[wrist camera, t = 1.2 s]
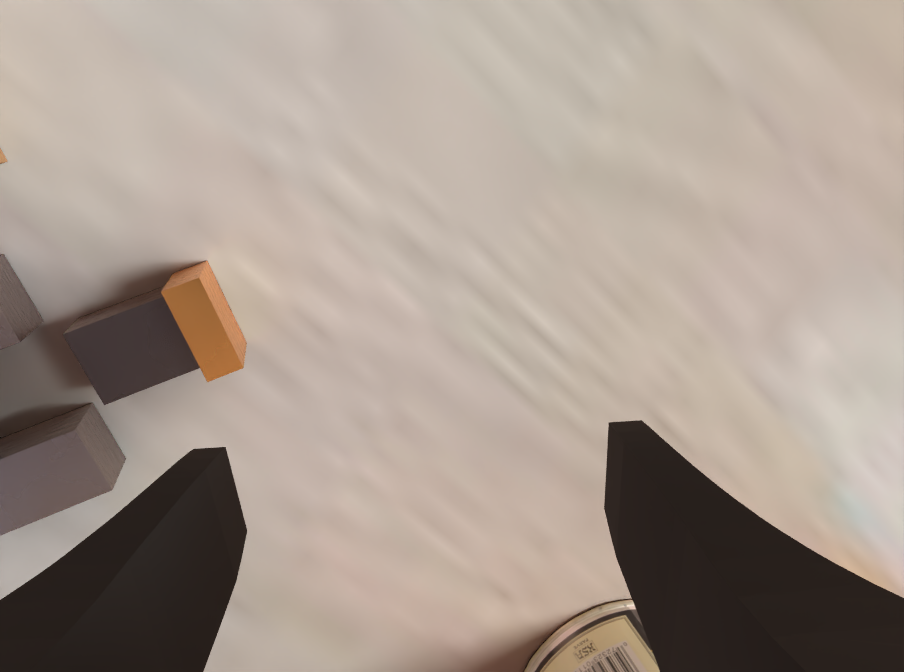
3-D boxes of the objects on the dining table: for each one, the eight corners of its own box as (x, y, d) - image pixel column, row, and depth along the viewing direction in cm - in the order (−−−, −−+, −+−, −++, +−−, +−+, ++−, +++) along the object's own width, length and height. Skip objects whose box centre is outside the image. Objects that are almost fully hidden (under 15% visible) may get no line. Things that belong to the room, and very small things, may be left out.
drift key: (120, 391, 23) (103, 422, 21) (73, 310, 22) (49, 333, 20) (246, 342, 24) (243, 367, 22) (207, 260, 23) (199, 277, 20)
